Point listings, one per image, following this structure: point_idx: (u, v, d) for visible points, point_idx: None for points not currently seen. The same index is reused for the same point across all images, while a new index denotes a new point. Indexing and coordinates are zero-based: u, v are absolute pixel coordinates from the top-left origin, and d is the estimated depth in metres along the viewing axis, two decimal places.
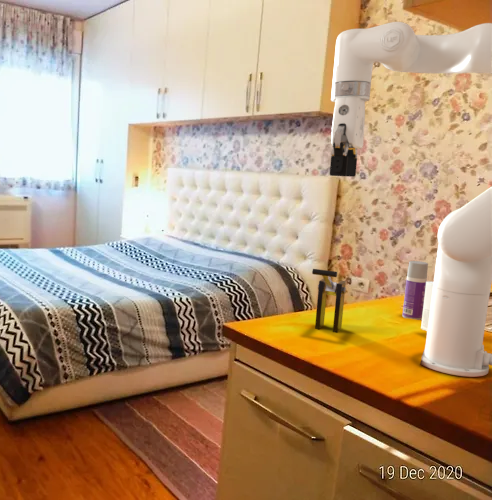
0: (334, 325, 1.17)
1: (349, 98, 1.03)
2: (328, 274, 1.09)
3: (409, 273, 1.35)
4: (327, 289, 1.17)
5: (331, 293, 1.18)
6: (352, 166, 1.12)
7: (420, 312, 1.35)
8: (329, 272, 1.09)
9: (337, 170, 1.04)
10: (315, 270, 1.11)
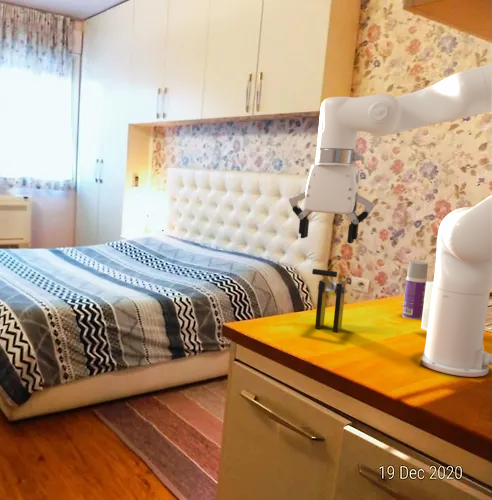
0: (334, 325, 1.17)
1: (357, 167, 1.05)
2: (328, 274, 1.09)
3: (409, 273, 1.35)
4: (327, 289, 1.17)
5: (331, 293, 1.18)
6: (307, 227, 1.12)
7: (420, 312, 1.35)
8: (329, 272, 1.09)
9: (356, 237, 1.06)
10: (315, 270, 1.11)
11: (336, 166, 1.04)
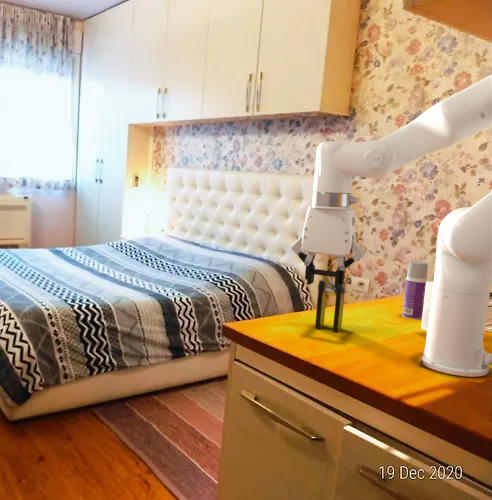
0: (334, 325, 1.17)
1: (353, 210, 1.06)
2: (328, 274, 1.09)
3: (409, 273, 1.35)
4: (327, 289, 1.17)
5: (331, 293, 1.18)
6: None
7: (420, 312, 1.35)
8: (329, 272, 1.09)
9: (342, 283, 1.08)
10: (315, 270, 1.11)
11: (332, 209, 1.05)
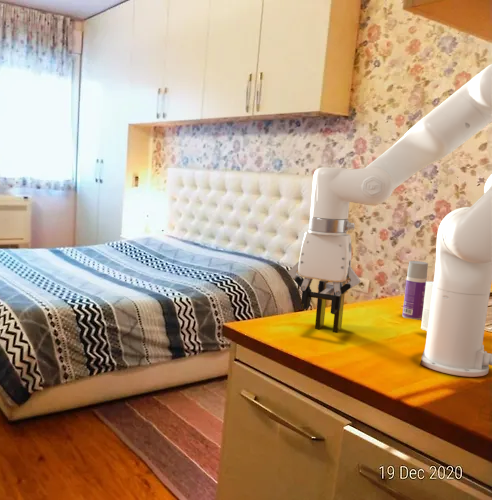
0: (334, 325, 1.17)
1: (350, 236, 1.06)
2: (325, 298, 1.09)
3: (409, 273, 1.35)
4: None
5: None
6: (310, 297, 1.12)
7: (420, 312, 1.35)
8: (325, 297, 1.09)
9: (339, 308, 1.08)
10: (311, 294, 1.10)
11: (329, 235, 1.05)
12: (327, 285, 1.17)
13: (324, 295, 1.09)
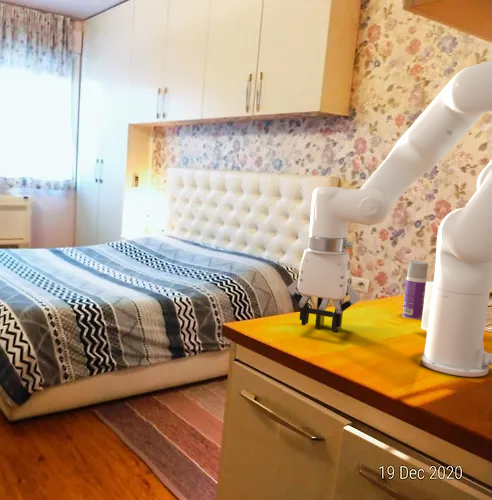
0: None
1: None
2: (324, 315, 1.10)
3: (409, 273, 1.35)
4: None
5: None
6: (308, 314, 1.14)
7: (420, 312, 1.35)
8: (324, 314, 1.10)
9: (339, 325, 1.09)
10: (311, 312, 1.12)
11: (328, 254, 1.07)
12: None
13: (323, 313, 1.10)
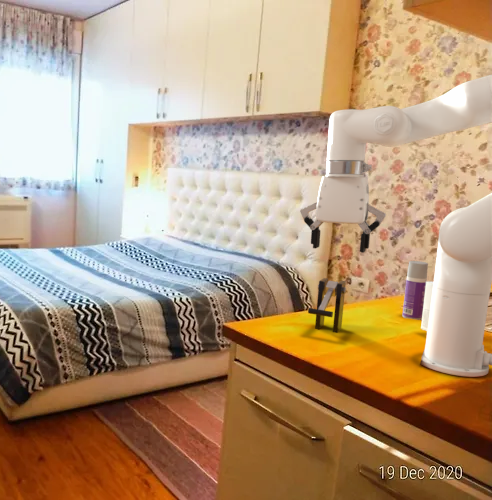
0: (334, 325, 1.17)
1: (367, 178, 1.07)
2: (324, 315, 1.10)
3: (409, 273, 1.35)
4: None
5: None
6: (319, 237, 1.14)
7: (420, 312, 1.35)
8: (324, 314, 1.10)
9: (368, 247, 1.08)
10: (311, 312, 1.12)
11: (347, 177, 1.06)
12: (327, 288, 1.17)
13: (323, 313, 1.10)
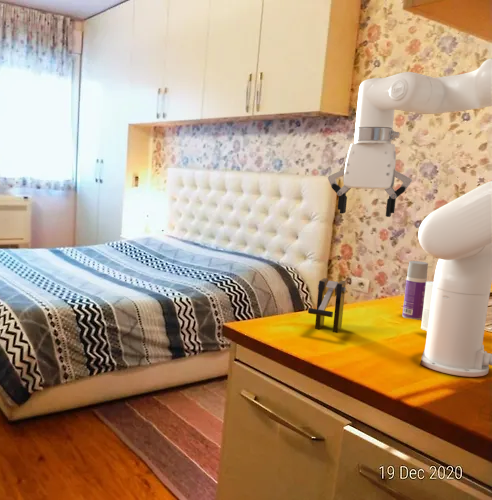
0: (334, 325, 1.17)
1: (394, 145, 1.11)
2: (324, 315, 1.10)
3: (409, 273, 1.35)
4: None
5: None
6: (345, 203, 1.18)
7: (420, 312, 1.35)
8: (324, 314, 1.10)
9: (393, 211, 1.12)
10: (311, 312, 1.12)
11: (375, 144, 1.10)
12: (327, 288, 1.17)
13: (323, 313, 1.10)
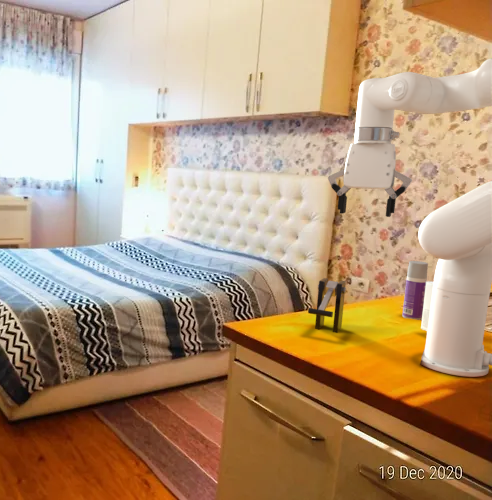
0: (334, 325, 1.17)
1: (394, 145, 1.11)
2: (324, 315, 1.10)
3: (409, 273, 1.35)
4: None
5: None
6: (345, 203, 1.18)
7: (420, 312, 1.35)
8: (324, 314, 1.10)
9: (393, 211, 1.12)
10: (311, 312, 1.12)
11: (375, 144, 1.10)
12: (327, 288, 1.17)
13: (323, 313, 1.10)
